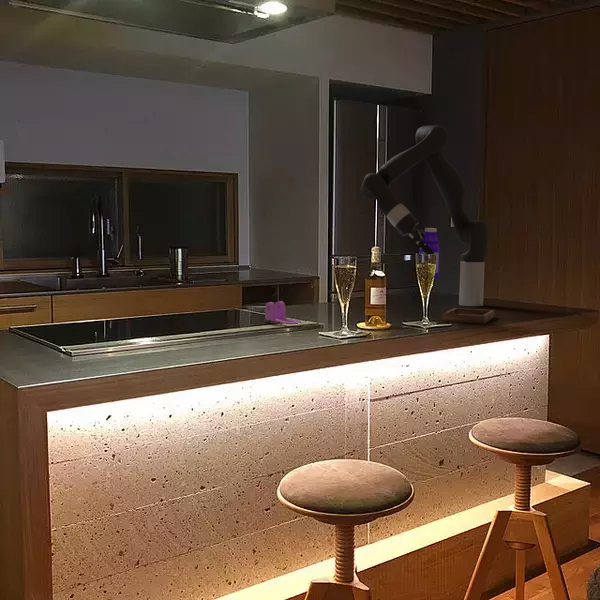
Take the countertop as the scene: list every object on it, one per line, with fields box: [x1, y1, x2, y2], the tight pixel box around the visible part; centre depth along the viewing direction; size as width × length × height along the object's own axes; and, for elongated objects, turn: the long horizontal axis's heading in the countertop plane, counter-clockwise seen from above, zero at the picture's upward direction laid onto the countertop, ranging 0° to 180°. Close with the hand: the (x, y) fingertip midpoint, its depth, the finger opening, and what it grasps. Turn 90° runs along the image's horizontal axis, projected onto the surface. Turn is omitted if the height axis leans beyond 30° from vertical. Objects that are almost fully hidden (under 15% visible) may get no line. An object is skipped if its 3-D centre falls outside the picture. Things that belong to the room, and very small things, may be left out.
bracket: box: [264, 300, 302, 324], centre depth 250 cm, size 13×6×7 cm, turn 43°
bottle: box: [419, 227, 441, 280], centre depth 270 cm, size 7×6×17 cm
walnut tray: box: [441, 307, 495, 325], centre depth 267 cm, size 18×14×2 cm
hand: (434, 254), depth 270 cm, fingers closed on bottle, 6 cm apart
